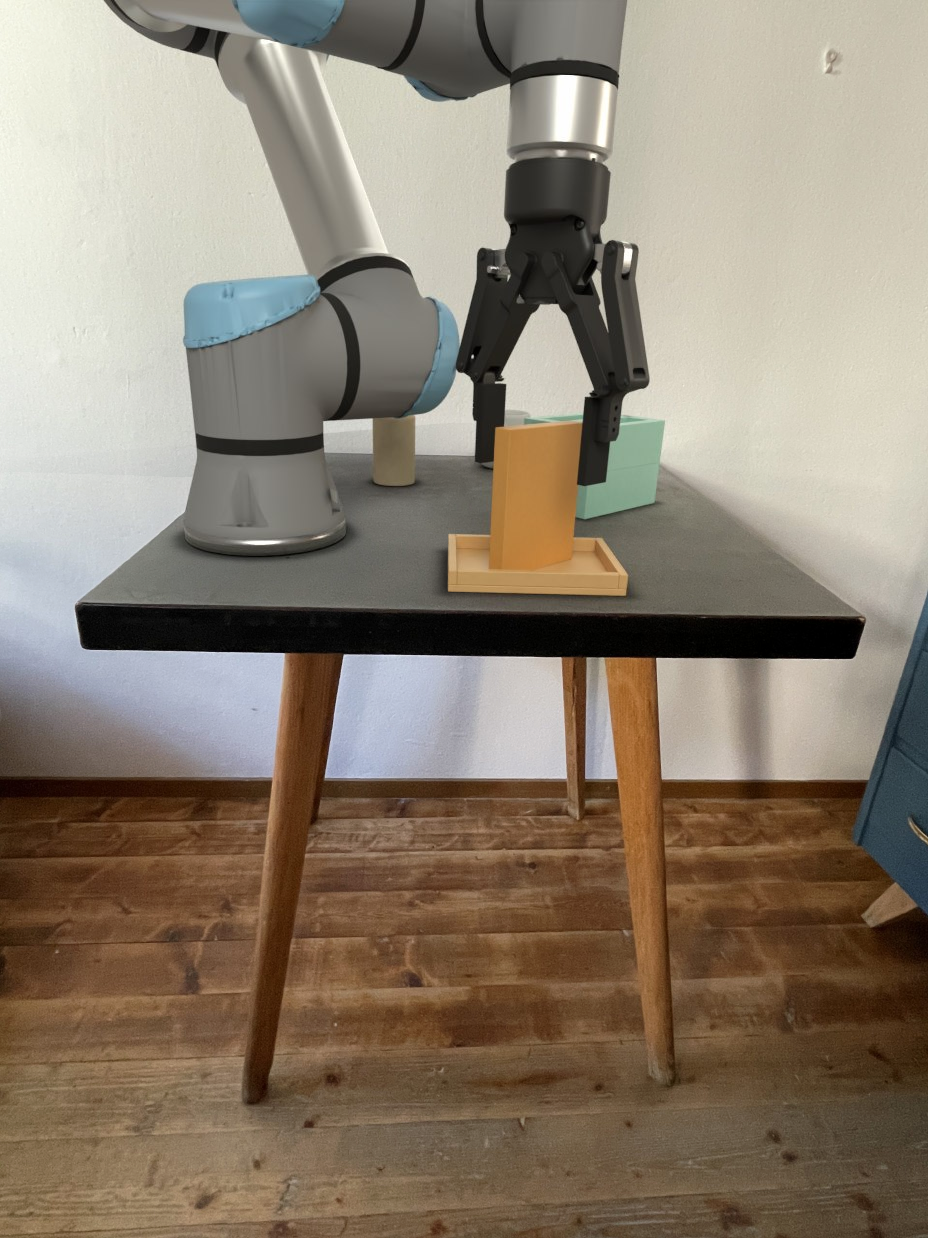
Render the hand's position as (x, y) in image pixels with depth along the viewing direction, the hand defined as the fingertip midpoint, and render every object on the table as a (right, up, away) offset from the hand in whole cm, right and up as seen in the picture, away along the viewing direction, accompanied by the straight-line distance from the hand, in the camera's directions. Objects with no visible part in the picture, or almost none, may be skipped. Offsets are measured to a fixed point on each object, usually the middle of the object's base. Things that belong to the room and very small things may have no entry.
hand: (536, 471), depth 61 cm
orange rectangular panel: (0, -8, +3) cm, 8 cm away
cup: (-1, +10, +49) cm, 50 cm away
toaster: (+9, +2, +29) cm, 31 cm away
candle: (-15, +6, +37) cm, 40 cm away
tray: (0, -8, +3) cm, 9 cm away
